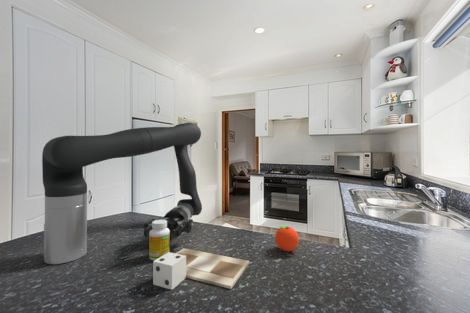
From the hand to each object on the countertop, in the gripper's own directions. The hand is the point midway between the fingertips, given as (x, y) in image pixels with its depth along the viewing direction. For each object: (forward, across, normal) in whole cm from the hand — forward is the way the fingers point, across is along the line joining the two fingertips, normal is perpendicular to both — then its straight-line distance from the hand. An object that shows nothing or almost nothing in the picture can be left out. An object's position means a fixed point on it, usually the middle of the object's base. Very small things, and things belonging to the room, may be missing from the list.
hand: (160, 233), depth 61 cm
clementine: (-5, +36, +6) cm, 37 cm away
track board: (+6, +13, +6) cm, 15 cm away
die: (+12, +7, +6) cm, 15 cm away
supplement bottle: (+1, 0, +6) cm, 6 cm away
